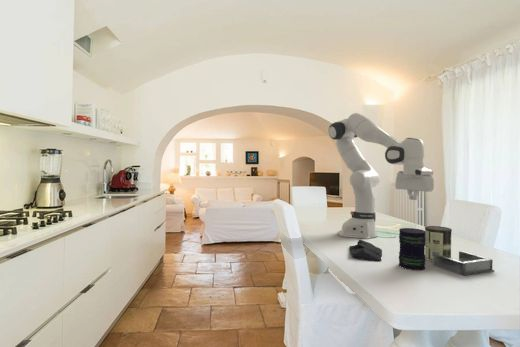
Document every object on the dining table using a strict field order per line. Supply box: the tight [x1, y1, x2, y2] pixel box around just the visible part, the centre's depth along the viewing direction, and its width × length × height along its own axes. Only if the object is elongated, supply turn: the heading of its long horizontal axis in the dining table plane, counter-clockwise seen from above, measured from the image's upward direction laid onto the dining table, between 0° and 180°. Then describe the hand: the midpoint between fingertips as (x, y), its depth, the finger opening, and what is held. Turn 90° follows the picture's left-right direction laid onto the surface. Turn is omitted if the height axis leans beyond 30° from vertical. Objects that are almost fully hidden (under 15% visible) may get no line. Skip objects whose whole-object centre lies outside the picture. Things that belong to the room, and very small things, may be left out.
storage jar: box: [398, 227, 426, 271], centre depth 126 cm, size 10×10×15 cm
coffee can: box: [424, 225, 453, 263], centre depth 136 cm, size 10×10×14 cm
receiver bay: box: [432, 250, 495, 277], centre depth 125 cm, size 14×16×4 cm
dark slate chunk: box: [349, 239, 383, 262], centre depth 145 cm, size 15×22×5 cm
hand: (412, 199), depth 149 cm, fingers closed
